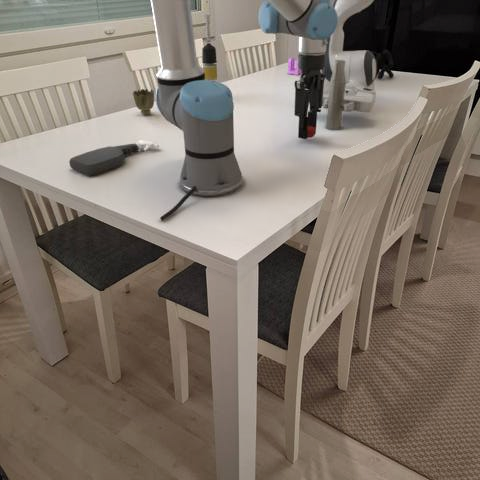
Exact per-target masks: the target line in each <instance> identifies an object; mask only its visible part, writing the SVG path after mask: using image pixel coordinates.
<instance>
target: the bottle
mask: <svg viewBox="0 0 480 480" xmlns="http://www.w3.org/2000/svg"><path fill="white" fill-rule="evenodd" d="M345 62H346V61H344V60H335V61H334V71H333V74H332V77H331V80H330V87H329V99H328V109H326V110H327V112H326V122H325V128H326V129H327V130H331V131H332V130H333V131H337V130H341V128H342V122H343V112H344V111H342V110H341V109H342V105H343V103H344V94H345V83H347V81H345V72H344V69H345Z"/></svg>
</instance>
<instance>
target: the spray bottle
mask: <svg viewBox="0 0 480 480" xmlns="http://www.w3.org/2000/svg"><path fill="white" fill-rule="evenodd" d="M159 148H160V145H159V144H158V143H155V142H151V141H148V140H144V139H139V140H138V141H137V142H135V143H129V144H128V143H126V144H122V145H113V146H105V147H100V148H97V149H94V150H90V151H87V152H83V153H81V154H78V155H74V156H73V157H70V159H69V161H68V162H69V167H70V168H71V169H72V170H74V171H75V172H78V173H81V174H83V175H85V176H89V177H90V176H91V177H92V176H95V175H99V174H102V173H105V172H107V171H110V170H113V169H116V168H118V167H120V166H122V165H123V164H124V163H125V158H126V156H127V155H131V154H133V153H138V151H140V150H143V151H144V152H146V151H147V150H149V149H159Z"/></svg>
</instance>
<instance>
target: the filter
mask: <svg viewBox="0 0 480 480" xmlns="http://www.w3.org/2000/svg"><path fill="white" fill-rule="evenodd" d="M210 17H211V14H204V18H205V27H206V29H205V30H206V31H205V33H206V39H207V40H206V42H207V43H206V45H204V46H202V49H201V50H202V51H201V52H202V54H201V55H202V57H201V58H202V61H201V63H202V68H203V69H204V71H205V80H208V81H212V82H216V80H218V64H216V63H218V61H217V48H216V47H215V46H214V45H212V43H210V42H211V40H210V39H211V31H210V29H211V28H210Z"/></svg>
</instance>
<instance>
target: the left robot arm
mask: <svg viewBox="0 0 480 480" xmlns="http://www.w3.org/2000/svg"><path fill="white" fill-rule="evenodd" d="M150 4H151V9H152V16H153V21H154V22H153V23H154V29H155V35H156V41H157V47H158V52H159V60H160V65H161V68H160V69H159V70H158V72H157V73H156V78H157V79H156V80H157V85H158V86H157V88H156V89H155V90H156V91H155V104H156V107H157V109H158V111H159V113H160V115H161V116H162V117H163V118H164V119H165V120H166V121H167V122H168V123H170V124H171V125H173V126H175V127H177V128H178V129H179V130H180V131H182V132H183V143H184V154H185V155H184V158H183V164H182V168H181V171H180V177H179V178H180V179H179V183H180V184H179V185H180V188H181V189H182V191H184V192H186V194H184V196H183V197H182V198H181V199H180V200H179V201H178V202H177V203H176V205H174V206H173V208H171V209H170V210H168V211H167V212H166V213H164V214H163V215H161V216H160V220H161V221H165V219H167V218H169V217H170V216H171V215H173V214H174V213H175V212H176V211H178V209H180V207H181V206H182V205H184V203H185V202H186V201H187V200H188V199H189V197H190V196H191V195H194V196H199V197H221V196H224V195H229V194H232V193H234V192H235V191H237V190H239V189H240V188H241V187H242V185H243V174H242V171H241V168H240V165H239V163H238V160H237V157H236V154H235V132H234V131H235V130H234V127H235V126H234V109H235V105H234V100H233V98H234V97H233V93H232V90H231V88H229V87H228V86H227V85H226V84H224V83H222V82H219V81H215V82H212V81H213V80H212V81H208V80H205V71H204V69H203V66H201V65H199V63H198V59H197V58H198V57H197V49H196V42H195V32H194V25H193V17H192V8H191V7H192V6H191V0H150ZM337 22H338V16H337V12H336V10H335V8H334V7H333V6H331V5H330V0H266V1H264V2H263V3H261V5H260V7H259V11H258V23H259V26H260V30H261V31H262V32H263V33H265V34H266V35H268V34H269V35H270V34H273V35H276V34H285V35H292V36H295V37H296V36H297V37H298V48H297V49H298V52H299V54H298V55H297V59H298V68H299V69H301V70H302V72H301V74H300V76H299V80H295V81H294V90H295V91H294V117H298V133H297V138H298V139H301V140H307V139H308V138H307V133H308V126H313V127H315V135H316V134H317V120H318V113H321V112H322V108H323V106H322V100H323V89H324V81H325V77H326V74H323V73H321V69H324V68H325V60H326V55H325V54H324V52H326V45H327V43H328V42H327V38H329V37H330V36H331V35H332V34H333V32H334V31H335V29H336V26H337ZM319 81H320V82H319Z"/></svg>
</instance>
